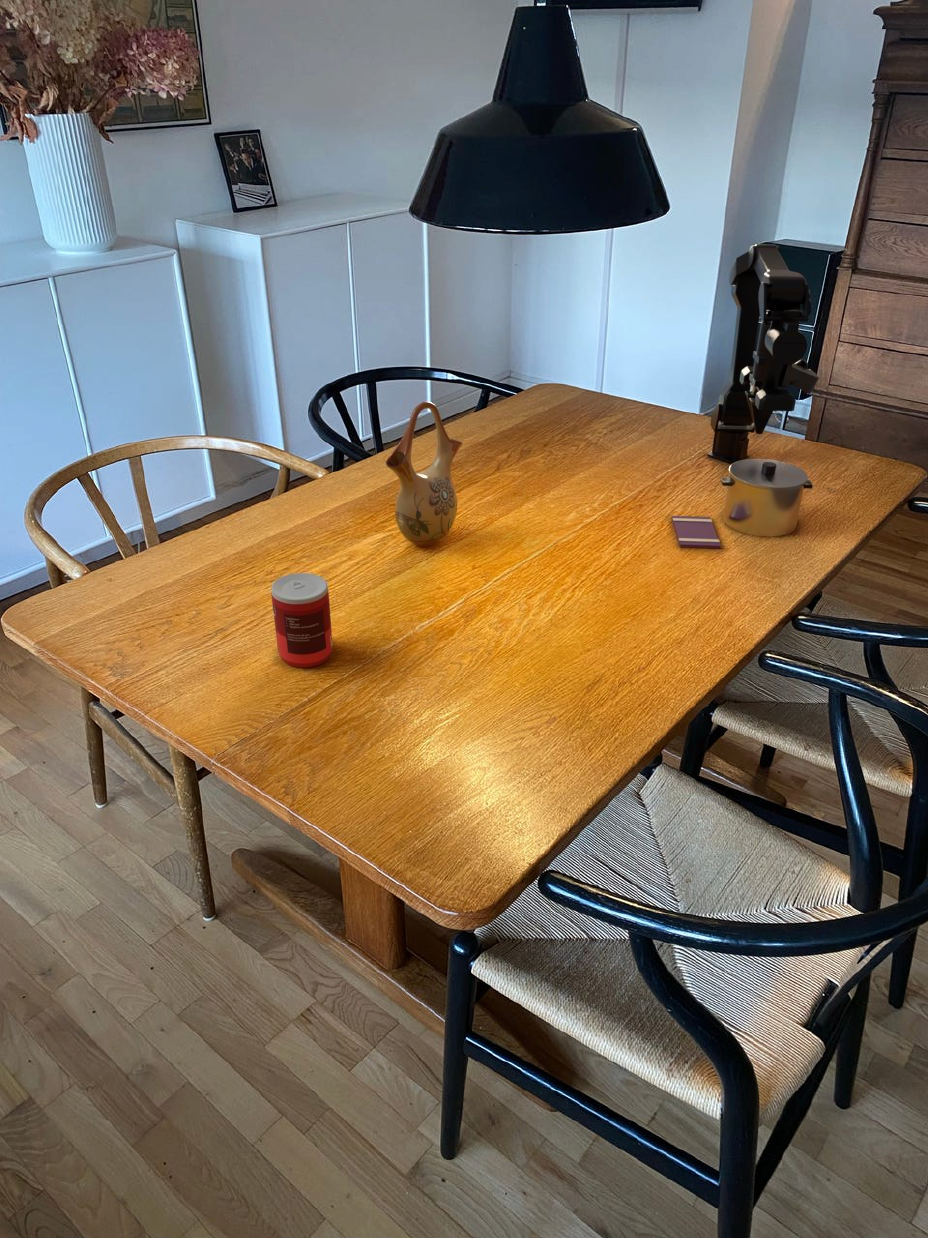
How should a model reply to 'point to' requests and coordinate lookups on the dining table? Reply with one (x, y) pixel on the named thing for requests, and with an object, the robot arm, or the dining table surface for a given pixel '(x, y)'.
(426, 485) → the ceramic vessel
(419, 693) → the dining table surface
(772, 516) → the steel pot
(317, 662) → the canned food
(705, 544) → the purple striped coaster
